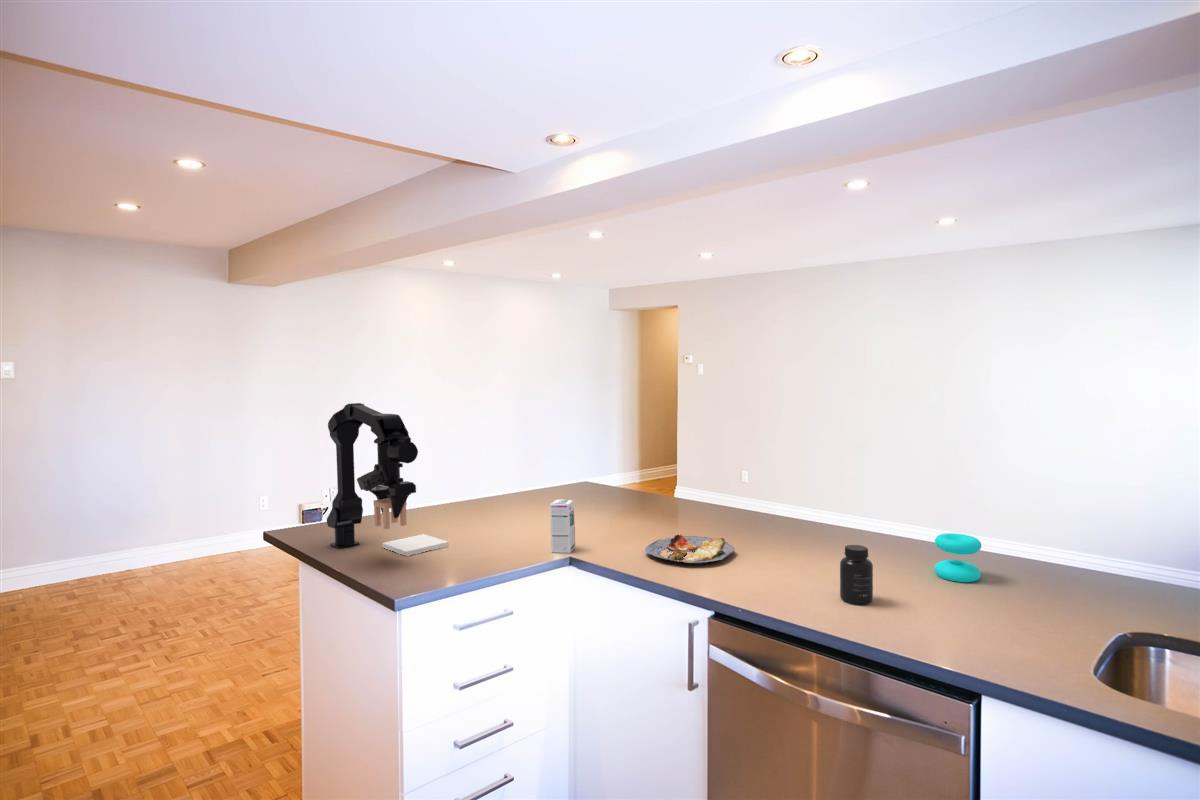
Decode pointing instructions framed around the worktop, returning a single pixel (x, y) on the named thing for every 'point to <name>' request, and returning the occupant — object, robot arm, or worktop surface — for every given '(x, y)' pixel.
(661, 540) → the food plate
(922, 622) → the worktop surface
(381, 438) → the robot arm
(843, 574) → the supplement bottle
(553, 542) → the syrup box
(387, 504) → the stool
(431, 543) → the white board
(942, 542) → the donuts
